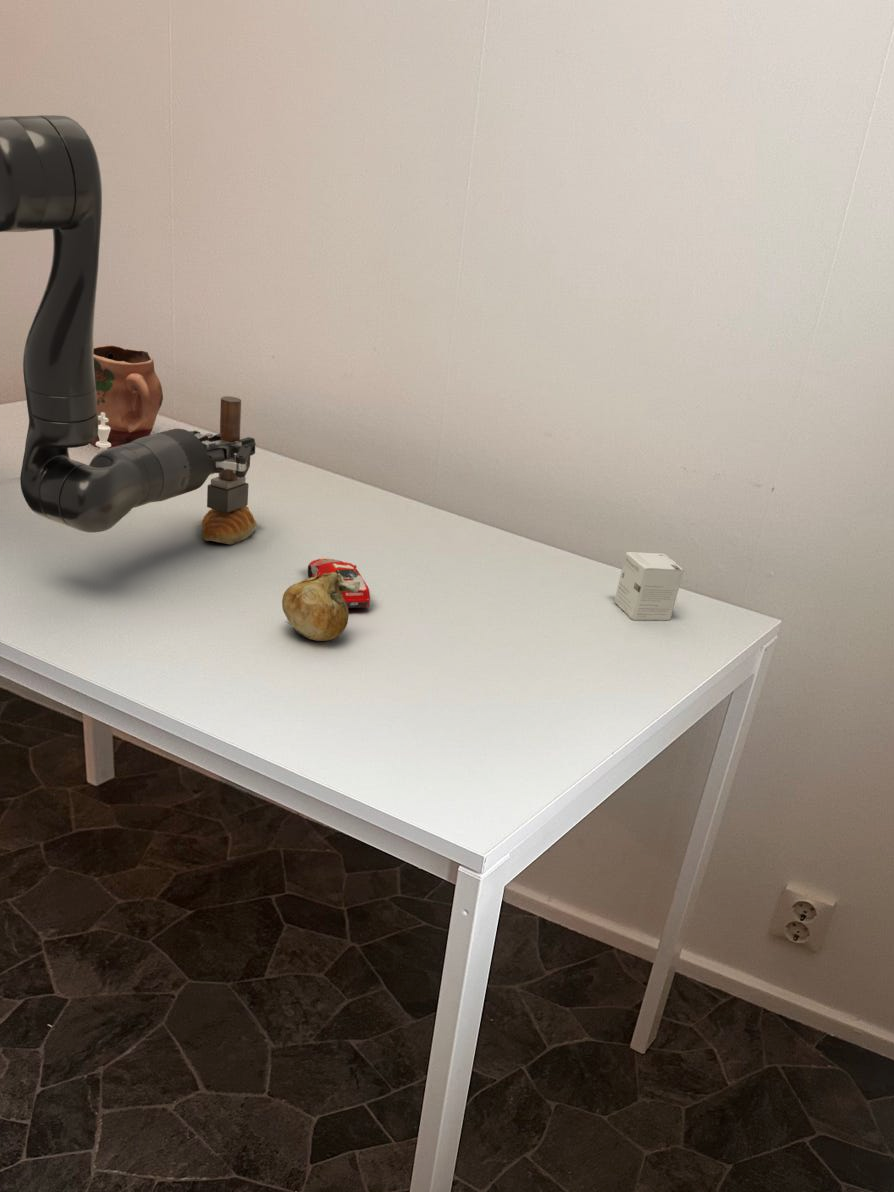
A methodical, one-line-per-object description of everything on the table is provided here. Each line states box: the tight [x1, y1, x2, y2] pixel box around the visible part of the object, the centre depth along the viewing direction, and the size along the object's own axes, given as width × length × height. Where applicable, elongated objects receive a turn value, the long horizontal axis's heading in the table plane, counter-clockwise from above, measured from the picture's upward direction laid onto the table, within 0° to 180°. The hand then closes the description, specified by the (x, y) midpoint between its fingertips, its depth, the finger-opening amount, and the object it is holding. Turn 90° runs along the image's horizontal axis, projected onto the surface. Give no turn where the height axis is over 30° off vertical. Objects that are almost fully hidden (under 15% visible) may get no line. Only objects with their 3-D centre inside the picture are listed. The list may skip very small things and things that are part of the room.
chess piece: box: [95, 412, 111, 453], centre depth 169 cm, size 5×5×10 cm
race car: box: [307, 558, 371, 609], centre depth 149 cm, size 13×5×4 cm, turn 22°
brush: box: [206, 395, 249, 513], centre depth 156 cm, size 5×3×14 cm, turn 157°
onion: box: [281, 572, 360, 642], centre depth 135 cm, size 8×8×8 cm
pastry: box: [201, 505, 258, 545], centre depth 160 cm, size 9×7×4 cm
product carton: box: [614, 551, 684, 621], centre depth 159 cm, size 6×6×7 cm
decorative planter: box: [90, 344, 164, 449], centre depth 184 cm, size 20×12×14 cm, turn 42°
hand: (241, 442), depth 157 cm, fingers closed on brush, 2 cm apart
